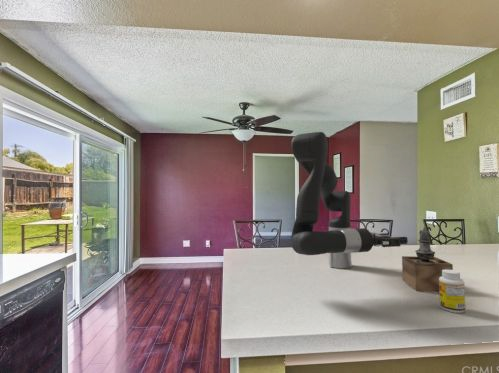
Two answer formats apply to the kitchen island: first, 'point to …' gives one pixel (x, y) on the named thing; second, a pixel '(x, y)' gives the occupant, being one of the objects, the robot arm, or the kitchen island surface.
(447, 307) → the supplement bottle
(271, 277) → the kitchen island surface
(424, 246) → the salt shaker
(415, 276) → the stand
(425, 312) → the kitchen island surface
